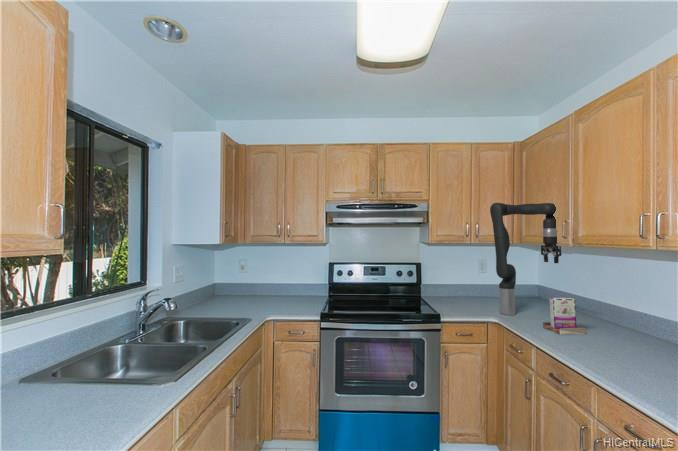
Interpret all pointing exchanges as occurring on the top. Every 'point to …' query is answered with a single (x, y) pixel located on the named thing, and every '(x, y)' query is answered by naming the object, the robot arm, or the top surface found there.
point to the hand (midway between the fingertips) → (551, 262)
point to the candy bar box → (562, 313)
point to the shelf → (564, 329)
